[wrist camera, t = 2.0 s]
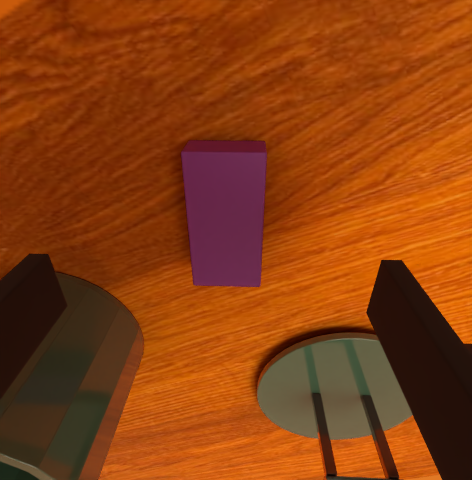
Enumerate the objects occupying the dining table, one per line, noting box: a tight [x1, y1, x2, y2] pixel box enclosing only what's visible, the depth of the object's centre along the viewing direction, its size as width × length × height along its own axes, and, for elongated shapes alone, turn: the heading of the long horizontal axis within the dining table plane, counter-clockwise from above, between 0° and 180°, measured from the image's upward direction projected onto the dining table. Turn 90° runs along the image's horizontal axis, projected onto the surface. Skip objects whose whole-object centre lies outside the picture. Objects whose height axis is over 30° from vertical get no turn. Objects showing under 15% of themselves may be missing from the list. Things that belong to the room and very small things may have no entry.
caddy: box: [0, 272, 144, 480], centre depth 20 cm, size 12×12×10 cm
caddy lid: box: [257, 332, 413, 480], centre depth 23 cm, size 14×14×8 cm
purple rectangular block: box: [181, 140, 267, 287], centre depth 17 cm, size 8×4×2 cm, turn 0°
